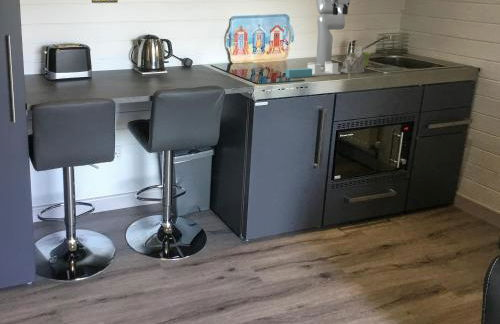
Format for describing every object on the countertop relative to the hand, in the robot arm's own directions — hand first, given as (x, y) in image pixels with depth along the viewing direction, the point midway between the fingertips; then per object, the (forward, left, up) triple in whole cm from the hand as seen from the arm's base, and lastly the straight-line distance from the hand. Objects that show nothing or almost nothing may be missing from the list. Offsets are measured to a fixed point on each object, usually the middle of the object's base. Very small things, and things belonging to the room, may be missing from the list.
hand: (340, 14), depth 333 cm
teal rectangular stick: (+6, -29, -34) cm, 45 cm away
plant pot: (-12, +28, -34) cm, 46 cm away
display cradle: (+1, -10, -33) cm, 35 cm away
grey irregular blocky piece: (-1, +12, -34) cm, 36 cm away
